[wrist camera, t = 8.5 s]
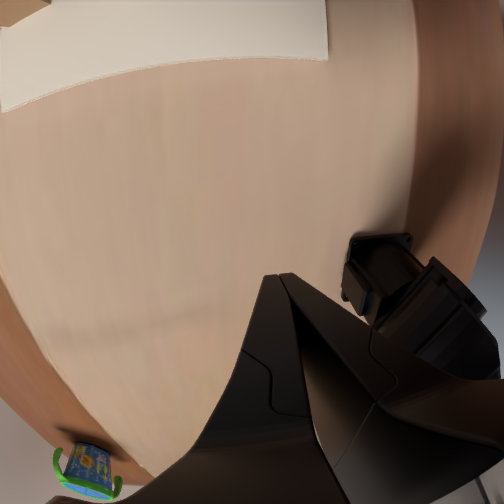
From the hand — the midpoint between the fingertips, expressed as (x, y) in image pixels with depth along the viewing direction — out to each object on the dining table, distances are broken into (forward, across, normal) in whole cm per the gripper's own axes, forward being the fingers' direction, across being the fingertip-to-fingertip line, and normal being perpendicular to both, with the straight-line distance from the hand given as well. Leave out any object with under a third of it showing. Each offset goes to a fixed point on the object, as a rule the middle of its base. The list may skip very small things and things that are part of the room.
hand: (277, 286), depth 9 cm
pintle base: (+13, +6, -16) cm, 22 cm away
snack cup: (+13, +32, +47) cm, 59 cm away
